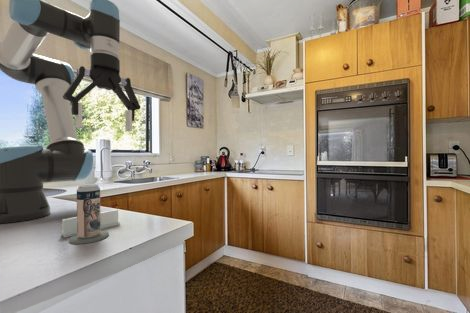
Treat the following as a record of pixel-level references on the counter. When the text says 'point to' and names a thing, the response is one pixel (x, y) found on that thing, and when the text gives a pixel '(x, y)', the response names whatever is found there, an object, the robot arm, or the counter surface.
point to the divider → (106, 219)
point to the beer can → (88, 211)
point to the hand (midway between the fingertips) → (105, 129)
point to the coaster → (84, 241)
